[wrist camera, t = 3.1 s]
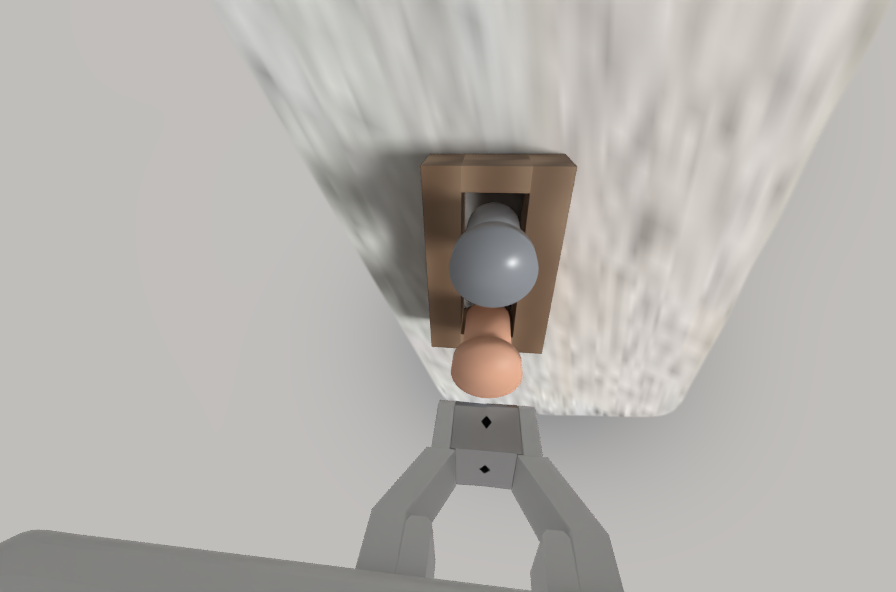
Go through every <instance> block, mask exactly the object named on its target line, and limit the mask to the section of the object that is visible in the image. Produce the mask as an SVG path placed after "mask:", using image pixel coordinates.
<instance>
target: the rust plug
mask: <svg viewBox="0 0 896 592" xmlns="http://www.w3.org/2000/svg"><path fill="white" fill-rule="evenodd" d="M451 375H452V379H453V381H454V382H455V384H456V385H457V386H458V387H459V388H460V389H461V390H463V391H464V392H466V393H468V394H470V395H473V396H476V397H481V398H496V397H501V396H504V395H507V394H509V393H511V392H512V391H514V390H515V389H516V388H517V387H518V386H519V384H520V383H521V380H522V364H521V357H520V354H519V352H518V351H517V349H516V348H515V347H514V346H513V345H512V344H511V331H510V317H509V313H508V311H507V310H506V308H505V307H497V308H490V307H483V306H479V305H476V304H474V305H473V306H472V307H471V308H470V309H469V310H468V312H467V315H466V323H465V332H464V340H463V343H461V344H460V345H459V346H458V347H457V349H456V350H455V352H454V355H453V361H452V368H451Z"/></svg>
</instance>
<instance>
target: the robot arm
mask: <svg viewBox="0 0 896 592" xmlns="http://www.w3.org/2000/svg"><path fill="white" fill-rule="evenodd" d="M541 448H542V447H541V441H540V434H539V427H538V421H537V414H536V409H535V407H529V406H517V405H503V404H479V403H469V402H459V401H456V402H455V401H448V400H440V401H439V404H438V408H437V415H436V422H435V428H434V434H433V441H432V447H426V449H424V451H423V452H422V453H421V454H420V455H419V456H418V458H417V459H416V460H415V461H414V462H413V463H412V464H411V466H409V468H408V469H407V470H406V471H405V472H404V473H403V474H402V476H401V477H400V478H399V479H398V480H397V481H396V482H395V483H394V485H393V486H392V487H391V488H390V489H389V490H388V491H387V493H386V494H385V495H384V496H383V497H382V498H381V499H380V501H379V502H378V503H377V504H376V505H375V506H374V507H373V508H372V511H371V514H370V518H369V522H368V525H367V529H366V532H365V536H364V539H363V543H362V547H361V550H360V554H359V558H358V561H357V565H356V568H355V569H353V568H345V567H337V566H329V565H321V564H313V563H305V562H297V561H289V560H281V559H272V558H265V557H257V556H249V555H240V554H233V553H224V552H216V551H208V550H201V549H193V548H184V547H176V546H168V545H160V544H152V543H145V542H136V541H128V540H120V539H111V538H103V537H95V536H87V535H79V534H71V533H65V532H57V531H50V530H30V531H27V532H23V533H20V534H18V535H16V536H14V537H12V538H10V539H7V540H6V541H3V542H1V543H0V592H624V590H623V587H622V583H621V579H620V575H619V571H618V568H617V564H616V560H615V556H614V552H613V549H612V545H611V541H610V538H609V535H608V533H607V532H606V531H605V530H604V528H603V527H602V526H601V524H600V523H599V522H598V521H597V519H596V518H595V517H594V516H593V514H592V513H591V512H590V510H589V509H588V508H587V507H586V505H585V504H584V503H583V501H582V500H581V499H580V498H579V497H578V495H577V494H576V493H575V491H574V490H573V489H572V487H571V486H570V485H569V484H568V483H567V481H566V480H565V478H564V477H563V476H562V475H561V473H560V472H559V471H558V470H557V468H556V467H555V466H554V465H553V463H552V462H551V461H550V460H549V458H548V457H543V454H542V449H541ZM456 484H462V485H475V486H476V485H477V486H487V487H495V488H503V489H511V490H512V493H513V494H514V496H515V498H516V500H517V502H518V503H519V505H520V507H521V509H522V511H523V512H524V514H525V516H526V518H527V520H528V522H529V523H530V525H531V526H532V528H533V531H534V532H535V534H536V535H537V538H538V540H539V541H540V544H539V547H538V550H537V553H536V556H535V559H534V562H533V566H532V569H531V572H530V575H531V589H532V591H529V590H521V589H513V588H505V587H497V586H489V585H481V584H473V583H465V582H457V581H449V580H441V579H434V571H435V553H434V541H433V530H432V522H433V520H434V519H435V517H436V516H437V514H438V513H439V511H440V510H441V508H442V507H443V505H444V503H445V502H446V500H447V499H448V497H449V496H450V494H451V492H452V491H453V490H454V488H455V486H456Z"/></svg>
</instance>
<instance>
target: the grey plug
mask: <svg viewBox="0 0 896 592" xmlns="http://www.w3.org/2000/svg"><path fill="white" fill-rule="evenodd" d="M538 269H539V268H538V260H537V256H536V252H535V248H534V245H533V243H532V241H531V240H530V238H529V237H528V236H527V234H525V233H524V232H523V231H522V230H521V229H520V224H519V219H518V217H517V215H516V213H515V212H514V211H513V210H512V209H511V208H510V207H508V206H507V205H504V204H502V203H487V204H484V205H482V206H480V207H478V208H477V209H476V210H475V211H474V212H473V213H472V215H471V216H470V218H469V221H468V226H467V231H465V232H464V233H463V234H462V235H461V236H460V237H459V239H458V240H457V241H456V243H455V245H454V248H453V251H452V255H451V259H450V264H449V275H450V279H451V282H452V284H453V286H454V288H455V289H456V290H457V292H458V293H459V294H460V295H461V296H462V297H463V298H465V299H466V300H468V301H469V302H471V303H473V304H476V305H479V306H483V307H490V308H497V307H504V306H508V305H511V304H513V303H515V302H517V301H519V300H521V299H522V298H523V297H525V296H526V295H527V294H528V293H529V292H530V291H531V289H532V288H533V286H534V284H535V282H536V280H537V276H538Z"/></svg>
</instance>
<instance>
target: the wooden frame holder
mask: <svg viewBox="0 0 896 592" xmlns="http://www.w3.org/2000/svg"><path fill="white" fill-rule="evenodd" d="M420 168H421V184H422V200H423V216H424V232H425V248H426V264H427V280H428V296H429V312H430V328H431V343H432V347H445V348H457V347H458V346H459V345H460V344H461V343H463V340H464V332H465V323H466V315H467V312H468V310H469V309H470V308H464V298H463V297H462V296H461V295H460V294H459V293H458V292H457V290H456V289H455V288H454V286H453V284H452V282H451V279H450V275H449V264H450V259H451V255H452V251H453V248H454V245H455V243H456V241H457V240H458V239H459V237H460V236H461V235H462V234H463V233H464V232H465V192H477V193H524V195H523V204H522V214H521V223H520V229H521V230H522V231H523V232H524V233H525V234H527V236H528V237H529V238H530V240H531V241H532V243H533V245H534V248H535V252H536V256H537V260H538V268H539V269H538V276H537V280H536V282H535V284H534V286H533V288H532V289H531V291H530V292H529V293H528V294H527V295H526V296H525V297H523V298H522V299H521V300H519V301H517V302H515V303H513V304H512V306H511V311H508V310H507V311H508V313H509V317H510V331H511V344H512V345H513V346H514V347H515V348H516V349H517V351H518V352H522V353H537V354H542V350H543V344H544V339H545V334H546V329H547V323H548V318H549V313H550V308H551V302H552V297H553V292H554V286H555V281H556V276H557V271H558V265H559V260H560V255H561V250H562V244H563V239H564V234H565V228H566V223H567V218H568V213H569V207H570V202H571V197H572V192H573V186H574V181H575V176H576V171H577V166H576V165H575V164H574V163H573V162H572V160H571V159H570V158H569V157H568V156H567V155H566V154H430V155H429V156H428V157H427V158H426V159H425V161H424V162H423V163H422V164H421V166H420Z"/></svg>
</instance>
